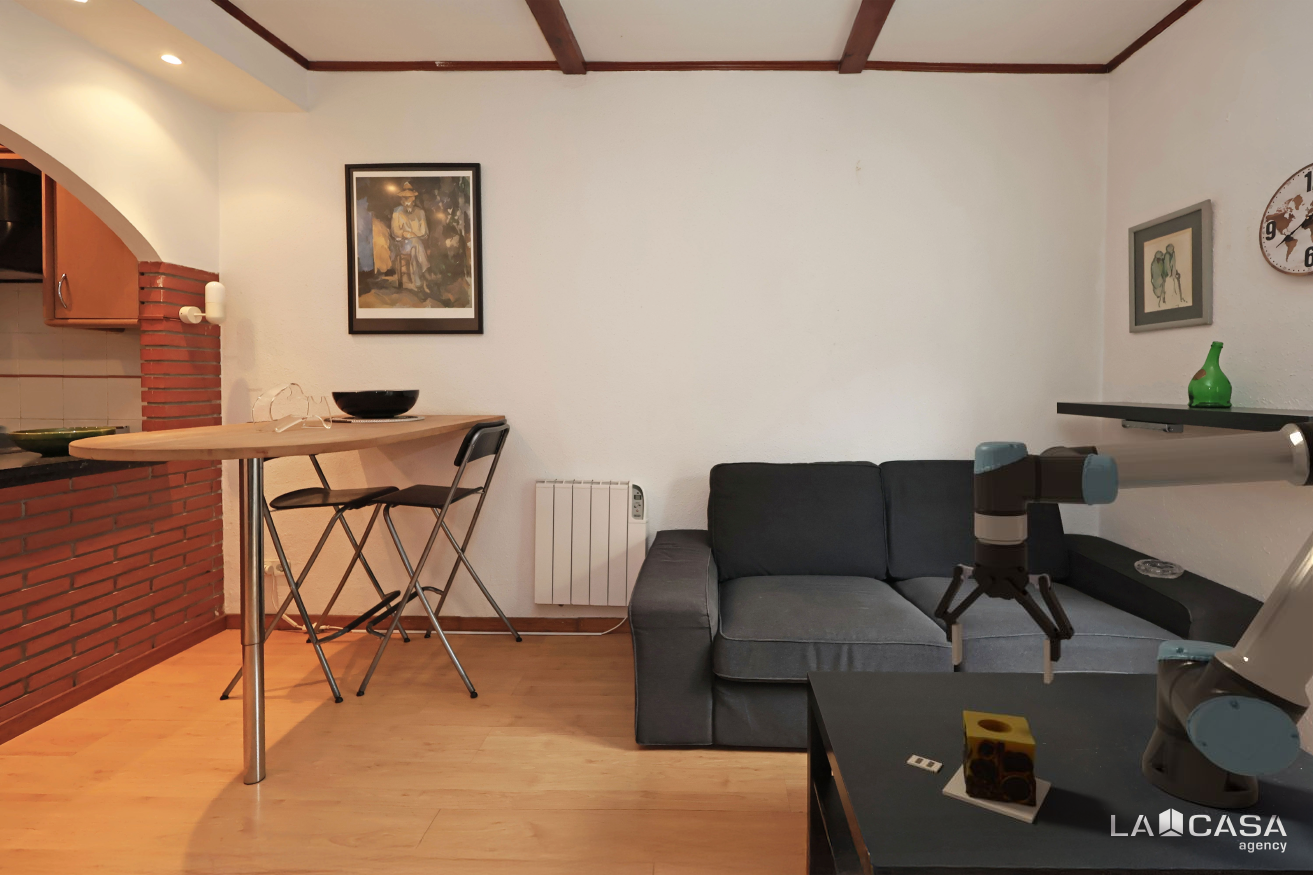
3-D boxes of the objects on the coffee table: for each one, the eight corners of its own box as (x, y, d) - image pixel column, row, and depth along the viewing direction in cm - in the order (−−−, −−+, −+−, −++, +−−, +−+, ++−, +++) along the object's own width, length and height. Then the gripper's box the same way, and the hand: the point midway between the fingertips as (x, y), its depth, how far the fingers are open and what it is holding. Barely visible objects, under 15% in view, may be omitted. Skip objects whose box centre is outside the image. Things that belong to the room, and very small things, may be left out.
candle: (1037, 808, 112) (1038, 745, 111) (965, 797, 115) (966, 735, 114) (1027, 775, 121) (1028, 716, 121) (961, 765, 125) (962, 708, 124)
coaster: (1050, 785, 119) (1050, 782, 119) (1031, 823, 109) (1031, 819, 109) (967, 761, 127) (967, 757, 127) (942, 793, 117) (942, 790, 117)
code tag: (942, 765, 126) (942, 763, 126) (936, 772, 124) (936, 770, 124) (913, 756, 129) (913, 754, 129) (907, 763, 127) (907, 761, 127)
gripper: (1095, 543, 110) (1095, 680, 112) (929, 528, 126) (930, 648, 128) (1086, 552, 105) (1086, 697, 106) (913, 535, 121) (914, 661, 122)
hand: (1001, 671), depth 117 cm, fingers open, 13 cm apart
